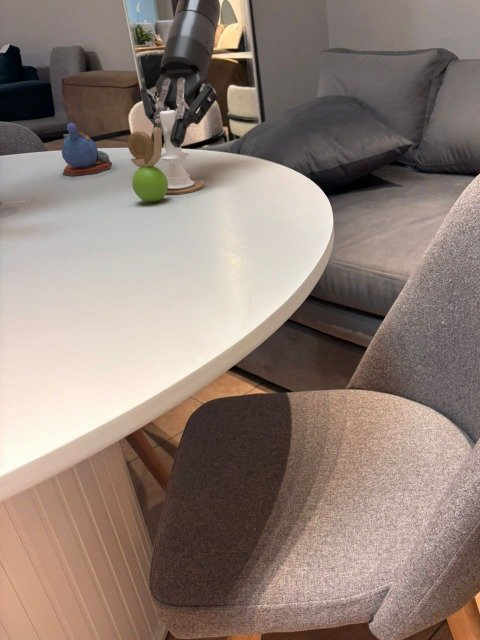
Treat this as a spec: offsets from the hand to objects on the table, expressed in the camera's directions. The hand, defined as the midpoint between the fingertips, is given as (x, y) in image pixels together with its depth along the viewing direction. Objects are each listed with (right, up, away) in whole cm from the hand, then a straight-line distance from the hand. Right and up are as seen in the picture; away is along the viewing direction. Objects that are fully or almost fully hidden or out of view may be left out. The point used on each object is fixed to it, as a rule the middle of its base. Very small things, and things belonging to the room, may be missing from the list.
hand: (166, 144), depth 101 cm
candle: (+1, -5, +5) cm, 7 cm away
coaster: (+1, -5, +5) cm, 8 cm away
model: (-21, +6, +27) cm, 35 cm away
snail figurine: (-1, -10, -1) cm, 10 cm away
